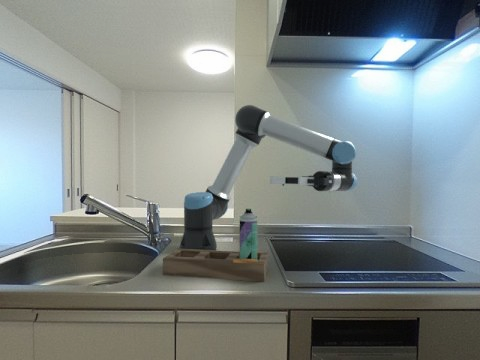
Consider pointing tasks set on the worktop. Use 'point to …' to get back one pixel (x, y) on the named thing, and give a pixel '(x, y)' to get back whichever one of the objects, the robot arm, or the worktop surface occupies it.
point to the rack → (215, 265)
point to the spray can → (248, 235)
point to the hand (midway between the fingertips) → (284, 180)
